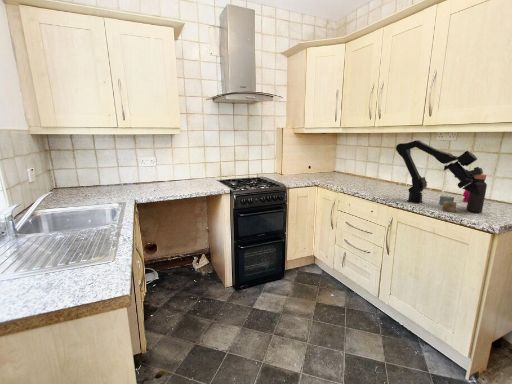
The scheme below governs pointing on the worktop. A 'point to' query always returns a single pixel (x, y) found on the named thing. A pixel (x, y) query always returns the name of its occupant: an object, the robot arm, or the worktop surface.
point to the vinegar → (475, 200)
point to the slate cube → (445, 199)
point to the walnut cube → (449, 206)
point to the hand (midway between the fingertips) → (480, 193)
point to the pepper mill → (466, 196)
